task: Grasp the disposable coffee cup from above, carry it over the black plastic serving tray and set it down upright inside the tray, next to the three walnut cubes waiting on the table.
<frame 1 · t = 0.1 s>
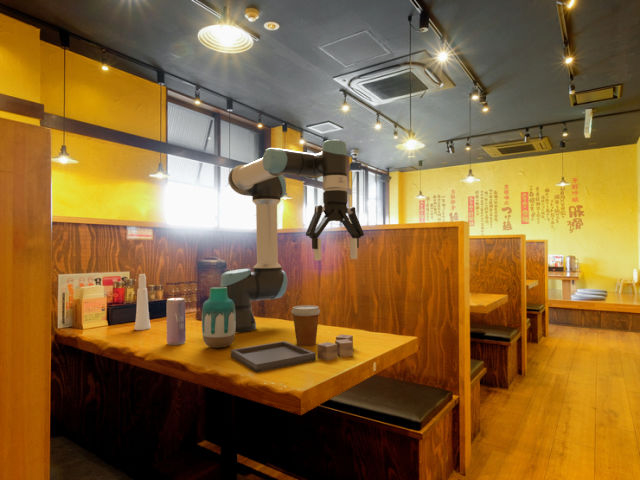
hand: (336, 259, 120), 28 cm above the table, fingers open, 13 cm apart
vase: (219, 347, 126), on the table
tray: (272, 358, 112), on the table
disposable coffee cup: (306, 344, 129), on the table
cube b: (344, 354, 115), on the table
cosmetic bottle: (142, 329, 157), on the table
cube a: (327, 358, 111), on the table
cube c: (344, 349, 121), on the table
beverage can: (176, 343, 132), on the table
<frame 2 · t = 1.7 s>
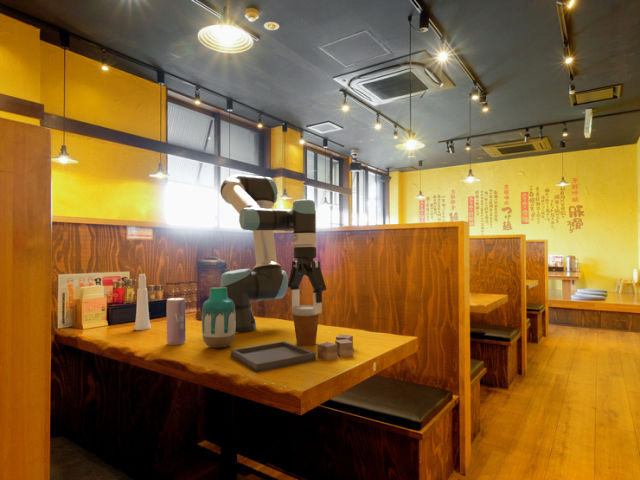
hand: (306, 310, 129), 11 cm above the table, fingers open, 13 cm apart
nothing on the table moved.
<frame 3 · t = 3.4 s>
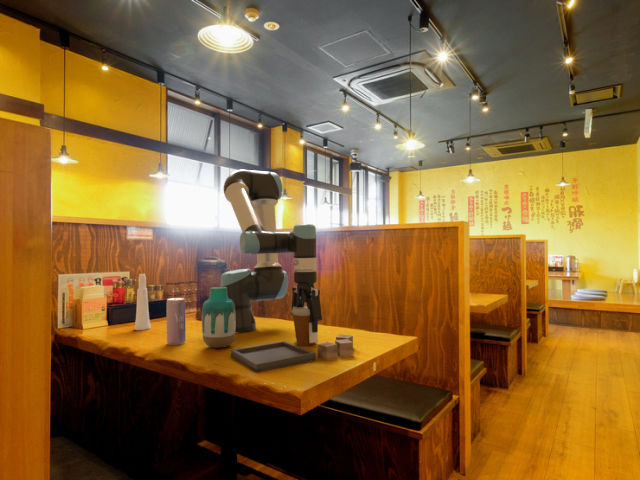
hand: (306, 339, 129), 1 cm above the table, fingers closed on disposable coffee cup, 8 cm apart
disposable coffee cup: (306, 344, 129), on the table, touching gripper
everything else where it was.
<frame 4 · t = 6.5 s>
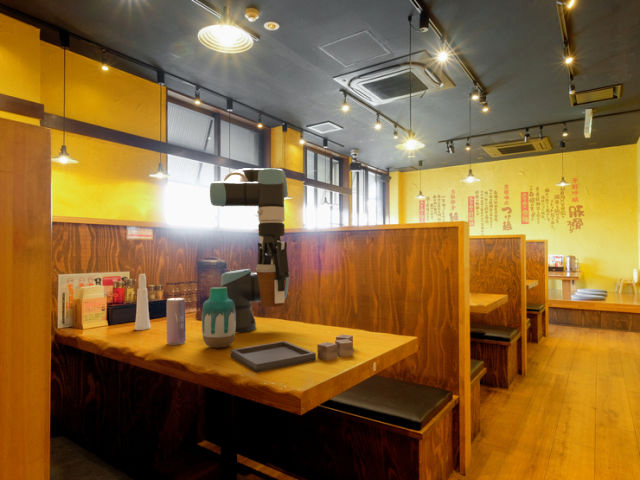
hand: (272, 301, 112), 16 cm above the table, fingers closed on disposable coffee cup, 8 cm apart
disposable coffee cup: (272, 306, 112), point 15 cm above the table, touching gripper
everything else where it was.
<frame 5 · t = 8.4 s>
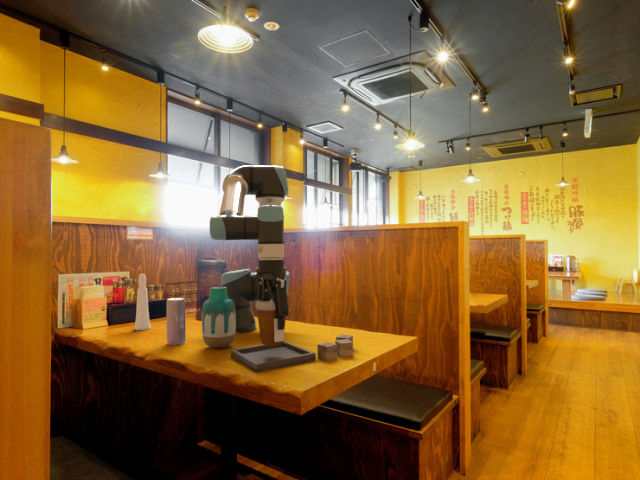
hand: (272, 338, 112), 6 cm above the table, fingers closed on disposable coffee cup, 8 cm apart
disposable coffee cup: (272, 343, 112), point 4 cm above the table, touching gripper
everything else where it was.
when the fingers open (3 cm above the table, at t = 9.9 s): disposable coffee cup stays where it is, resting on tray.
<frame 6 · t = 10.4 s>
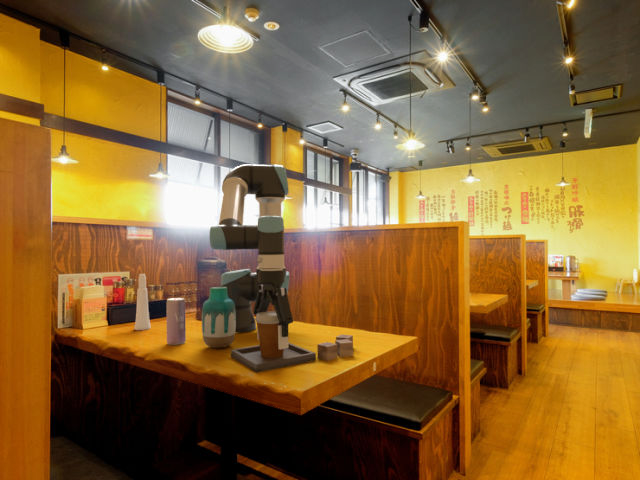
hand: (272, 343, 112), 4 cm above the table, fingers open, 13 cm apart
disposable coffee cup: (272, 356, 112), point 1 cm above the table, touching tray
everything else where it was.
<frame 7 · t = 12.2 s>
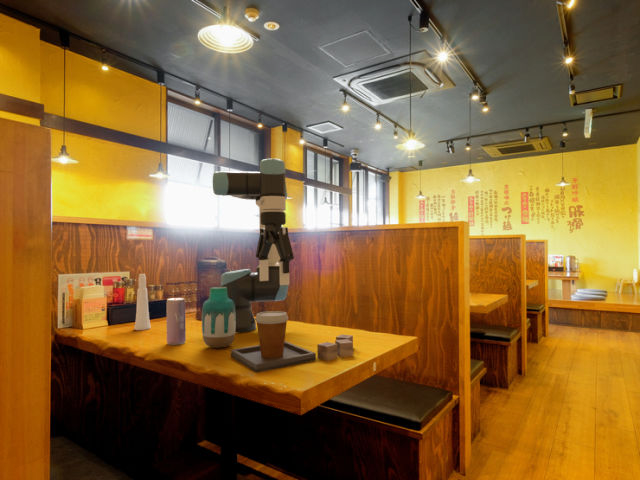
hand: (273, 282, 116), 21 cm above the table, fingers open, 13 cm apart
nothing on the table moved.
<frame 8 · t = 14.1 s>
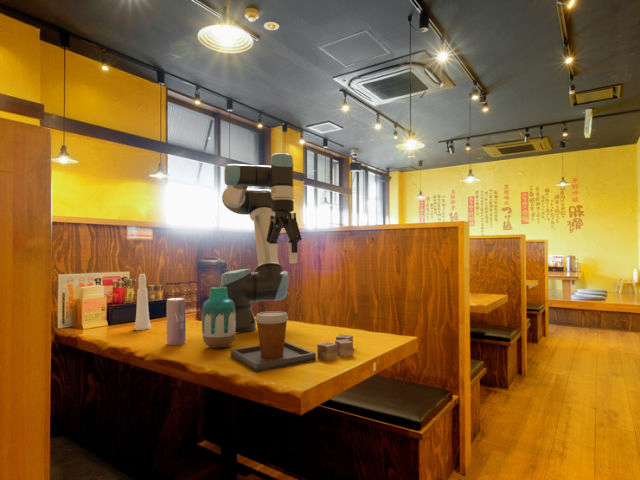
hand: (283, 262, 131), 27 cm above the table, fingers open, 13 cm apart
nothing on the table moved.
at the end: disposable coffee cup inside the target area on the tray (0.2 cm from its centre), point 0.6 cm above the tray's base; disposable coffee cup tilted 0°; disposable coffee cup touching tray; the gripper is holding nothing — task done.
